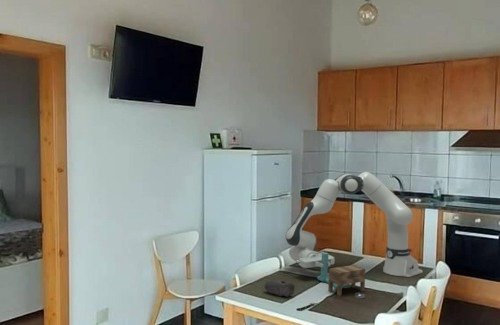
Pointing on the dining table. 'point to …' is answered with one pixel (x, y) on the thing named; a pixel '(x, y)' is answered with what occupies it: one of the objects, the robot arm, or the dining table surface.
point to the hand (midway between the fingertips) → (326, 265)
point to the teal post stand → (324, 271)
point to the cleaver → (306, 306)
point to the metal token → (360, 295)
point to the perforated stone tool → (280, 288)
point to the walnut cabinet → (346, 277)
